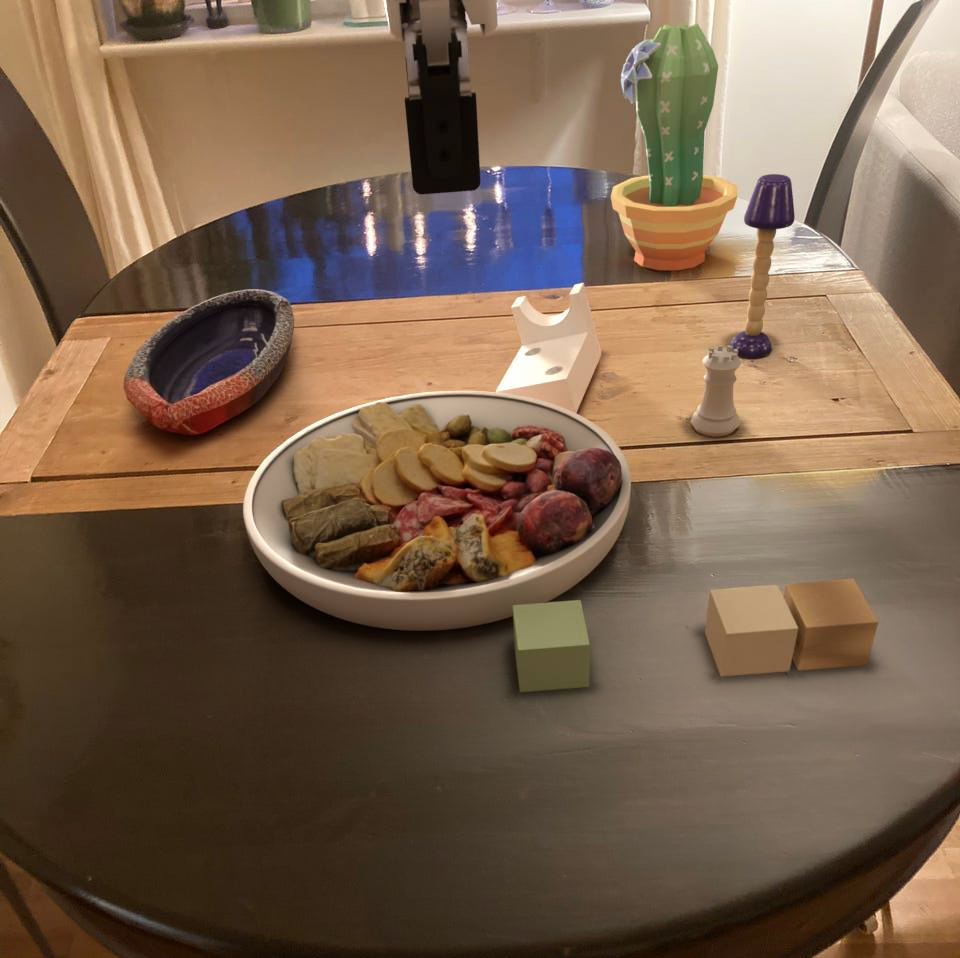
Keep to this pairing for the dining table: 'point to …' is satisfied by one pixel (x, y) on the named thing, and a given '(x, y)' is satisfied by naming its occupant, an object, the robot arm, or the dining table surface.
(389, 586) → the bowl
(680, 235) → the potted cactus
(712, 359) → the rook chess piece
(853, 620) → the birch block
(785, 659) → the cream block
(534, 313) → the bracket
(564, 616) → the sage block
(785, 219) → the toy lamp
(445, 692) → the dining table surface
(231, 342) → the dish
